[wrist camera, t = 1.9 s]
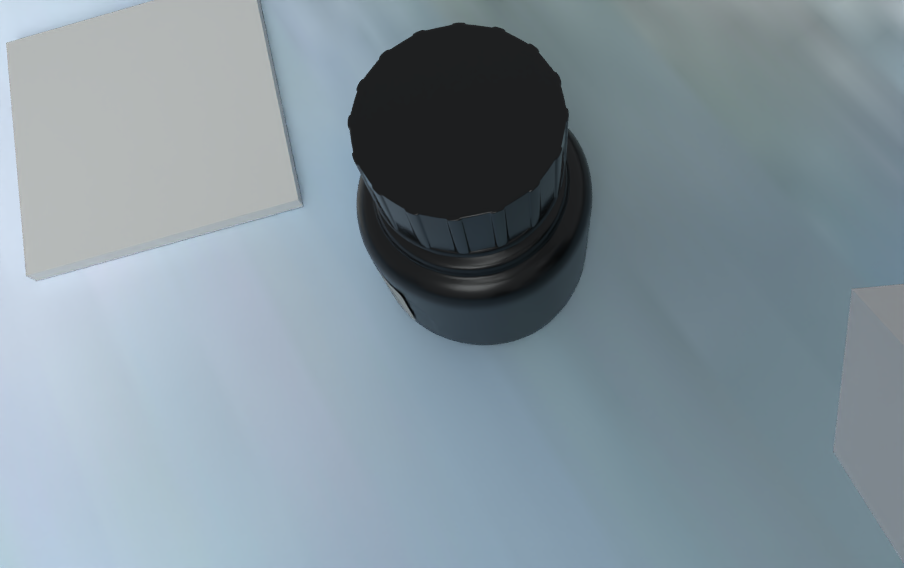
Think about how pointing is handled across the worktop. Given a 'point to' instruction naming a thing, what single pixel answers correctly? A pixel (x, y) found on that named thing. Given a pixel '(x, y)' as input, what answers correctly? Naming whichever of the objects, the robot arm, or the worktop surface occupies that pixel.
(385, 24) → the worktop surface
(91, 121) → the ceramic tile
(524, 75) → the ink bottle
